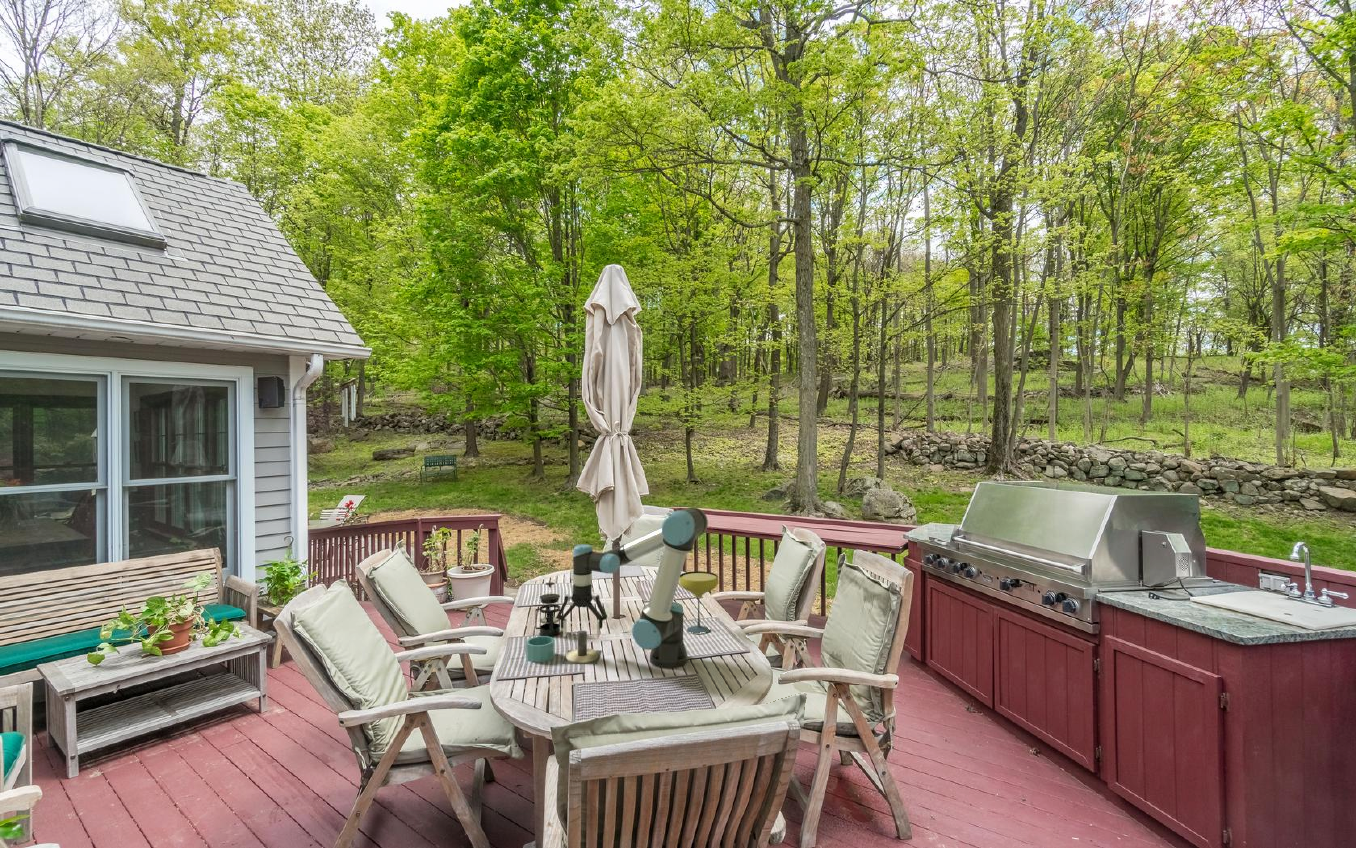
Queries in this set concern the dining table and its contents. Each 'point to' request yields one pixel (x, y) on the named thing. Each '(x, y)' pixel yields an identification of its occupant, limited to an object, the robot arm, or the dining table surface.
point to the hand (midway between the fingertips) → (581, 636)
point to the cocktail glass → (698, 590)
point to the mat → (583, 663)
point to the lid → (582, 651)
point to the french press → (548, 615)
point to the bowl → (540, 649)
